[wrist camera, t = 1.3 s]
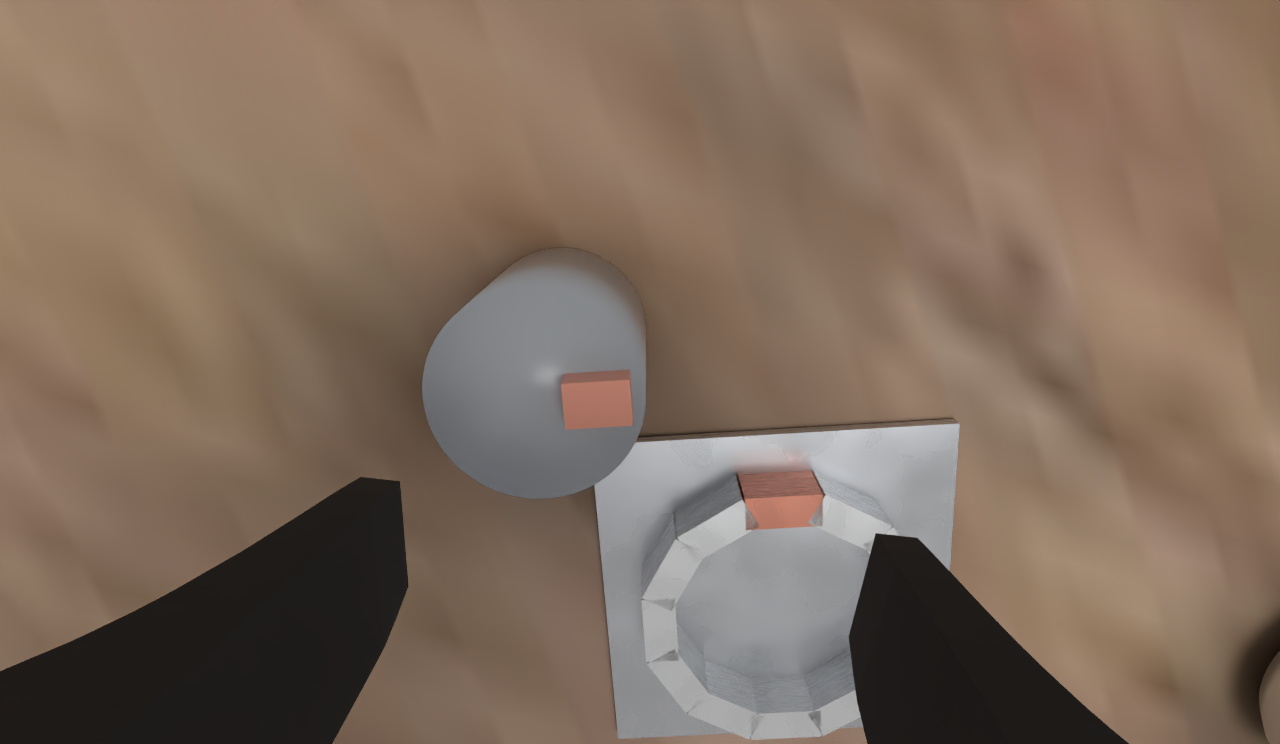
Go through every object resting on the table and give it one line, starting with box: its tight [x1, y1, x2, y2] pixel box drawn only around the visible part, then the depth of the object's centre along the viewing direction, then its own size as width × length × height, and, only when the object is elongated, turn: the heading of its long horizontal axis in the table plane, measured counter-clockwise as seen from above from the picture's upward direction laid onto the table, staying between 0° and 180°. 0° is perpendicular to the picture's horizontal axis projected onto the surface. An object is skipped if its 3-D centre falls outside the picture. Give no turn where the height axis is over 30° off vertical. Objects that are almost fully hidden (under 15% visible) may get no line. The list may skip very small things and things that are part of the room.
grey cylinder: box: [422, 248, 646, 499], centre depth 18 cm, size 5×5×7 cm
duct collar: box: [594, 419, 960, 740], centre depth 23 cm, size 11×11×2 cm
